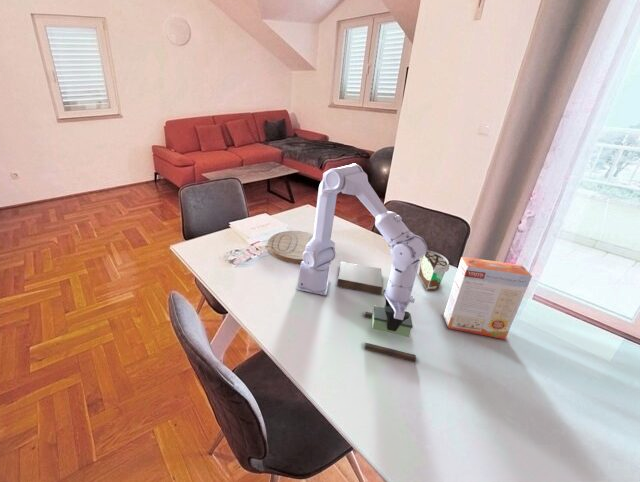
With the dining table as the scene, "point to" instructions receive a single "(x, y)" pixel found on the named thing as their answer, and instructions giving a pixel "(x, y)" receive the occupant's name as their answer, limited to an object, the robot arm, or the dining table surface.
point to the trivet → (289, 245)
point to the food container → (432, 269)
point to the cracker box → (486, 296)
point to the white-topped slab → (360, 277)
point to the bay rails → (388, 350)
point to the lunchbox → (381, 322)
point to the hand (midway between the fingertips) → (390, 322)
